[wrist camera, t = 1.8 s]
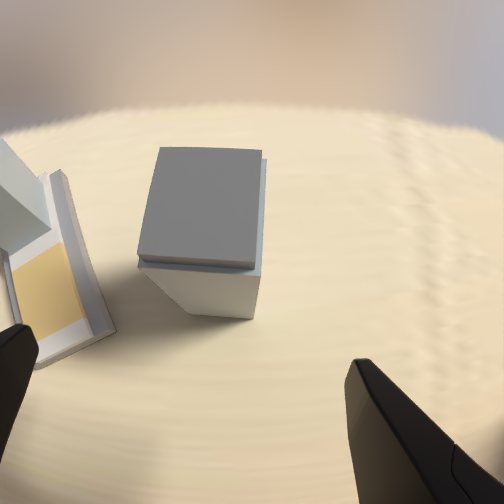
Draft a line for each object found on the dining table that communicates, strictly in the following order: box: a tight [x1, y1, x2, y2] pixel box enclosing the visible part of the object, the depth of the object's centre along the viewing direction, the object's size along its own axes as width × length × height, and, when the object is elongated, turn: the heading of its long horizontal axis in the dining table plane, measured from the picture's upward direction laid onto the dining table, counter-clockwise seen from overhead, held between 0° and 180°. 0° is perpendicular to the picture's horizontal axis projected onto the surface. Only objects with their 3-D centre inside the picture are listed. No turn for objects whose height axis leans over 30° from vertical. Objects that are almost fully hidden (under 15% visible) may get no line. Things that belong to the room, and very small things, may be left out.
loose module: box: [137, 147, 267, 319], centre depth 15 cm, size 4×4×11 cm
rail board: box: [1, 169, 117, 369], centre depth 20 cm, size 14×7×2 cm, turn 29°
